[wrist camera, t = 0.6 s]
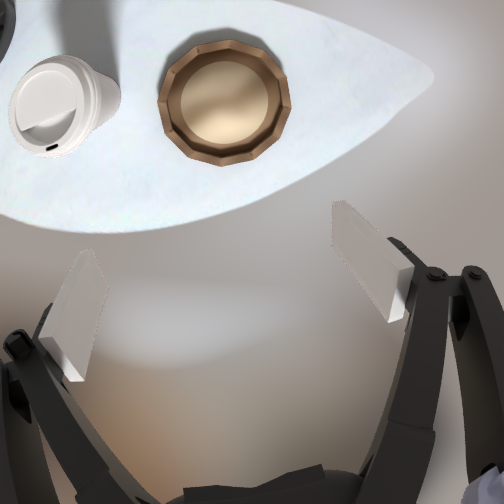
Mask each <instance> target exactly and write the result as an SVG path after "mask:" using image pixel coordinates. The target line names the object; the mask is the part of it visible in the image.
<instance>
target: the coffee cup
mask: <svg viewBox="0 0 504 504" xmlns="http://www.w3.org/2000/svg"><path fill="white" fill-rule="evenodd" d="M120 102H121V92H120V89H119V86H118V85H117V83H116V82H115V81H114V80H113V79H111V78H109V77H107V76H105V75H103V74H101V73H98V72H96V71H94V70H93V69H92V68H91V67H90V66H89V65H88V64H87V63H86V62H85V61H83V60H81V59H80V58H77V57H74V56H70V55H58V56H53V57H50V58H48V59H45V60H43V61H41V62H39V63H38V64H36V65H35V66H34V67H32V68H31V69H30V70H29V71H28V72H27V73H26V74H25V75H24V77H23V78H22V79H21V80H20V81H19V83H18V84H17V86H16V88H15V90H14V92H13V94H12V97H11V101H10V105H9V123H10V128H11V131H12V133H13V135H14V137H15V139H16V140H17V142H18V143H19V144H20V145H21V146H22V147H24V148H25V149H26V150H28V151H29V152H31V153H33V154H35V155H38V156H41V157H49V158H54V157H61V156H64V155H67V154H69V153H71V152H73V151H74V150H76V149H77V148H78V147H80V146H81V145H82V144H83V143H84V142H85V141H86V140H87V138H88V137H89V136H90V134H91V133H92V131H93V130H95V129H96V128H98V127H99V126H101V125H102V124H103V123H105V122H106V121H108V120H109V119H111V118H112V117H113V116H114V115H115V113H116V112H117V110H118V108H119V105H120Z"/></svg>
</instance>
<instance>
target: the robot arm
mask: <svg viewBox="0 0 504 504" xmlns="http://www.w3.org/2000/svg"><path fill="white" fill-rule="evenodd" d="M14 27H15V10H14V7H13V4H12V3H11V1H10V0H0V63H1V61H2V59H3V58H4V56H5V54H6V52H7V50H8V47H9V45H10V42H11V40H12V36H13V32H14ZM332 247H333V248H334V250H335V251H336V252H337V253H338V255H339V256H340V258H341V259H342V260H343V262H344V263H345V264H346V266H347V267H348V268H349V270H350V271H351V272H352V274H353V275H354V276H355V278H356V279H357V280H358V282H359V283H360V284H361V286H362V287H363V288H364V290H365V291H366V293H367V294H368V295H369V297H370V298H371V299H372V301H373V302H374V304H375V305H376V306H377V308H378V309H379V311H380V312H381V314H382V315H383V317H384V318H385V320H386V321H387V322H388V323H389V322H392V321H395V320H398V319H401V318H403V314H404V310H405V308H406V309H407V310H408V312H409V313H410V315H409V318H408V322H407V325H406V328H405V336H404V341H403V345H402V349H401V353H400V357H399V361H398V364H397V368H396V372H395V376H394V379H393V383H392V386H391V389H390V393H389V396H388V399H387V402H386V405H385V408H384V411H383V414H382V417H381V420H380V423H379V425H378V428H377V431H376V433H375V436H374V439H373V441H372V444H371V447H370V449H369V451H368V454H367V456H366V458H365V460H364V462H363V464H362V466H361V468H360V470H359V473H358V475H356V474H354V473H350V472H346V471H340V470H323V468H322V465H321V464H319V465H316V466H312V467H308V468H305V469H301V470H297V471H293V472H289V473H286V474H284V475H282V476H280V477H278V478H275V479H273V480H271V481H269V482H267V483H264V484H262V485H260V486H257V487H254V488H244V487H230V486H220V485H213V486H203V487H190V488H183V491H184V495H182V496H179V497H177V498H175V499H173V500H171V501H169V502H167V503H166V504H416V501H417V498H418V495H419V493H420V490H421V487H422V483H423V480H424V477H425V474H426V471H427V468H428V464H429V461H430V457H431V453H432V450H433V446H434V441H435V431H433V423H434V418H435V413H436V408H437V403H438V398H439V392H440V386H441V380H442V373H443V366H444V358H445V349H446V339H447V326H448V324H449V328H450V333H451V337H452V342H453V347H454V352H455V358H456V363H457V369H458V375H459V382H460V389H461V397H462V406H463V416H464V428H465V444H466V466H467V475H468V481H469V486H468V487H467V488H466V490H465V492H464V495H463V499H462V500H461V504H504V311H503V308H502V306H501V303H500V301H499V299H498V297H497V294H496V292H495V290H494V288H493V285H492V283H491V281H490V279H489V277H488V275H487V273H486V272H485V271H484V270H482V269H481V268H479V267H477V266H466V267H464V269H463V270H462V274H461V276H448V274H447V273H446V272H445V271H443V270H442V269H440V268H437V267H427V266H426V265H425V264H424V263H423V262H422V261H421V260H420V259H419V258H418V257H417V256H416V255H415V254H414V253H412V251H410V250H409V249H408V248H407V247H406V246H405V245H404V244H403V243H402V242H401V241H399V240H397V239H395V238H393V237H389V238H386V237H385V236H384V235H383V234H381V233H380V232H379V231H378V230H377V229H376V228H375V227H374V226H373V225H372V224H371V223H370V222H369V221H367V220H366V219H365V218H364V217H363V216H362V215H361V214H360V213H359V212H357V211H356V210H355V209H354V208H353V207H352V206H351V205H349V204H348V203H347V202H346V201H345V200H343V201H336V202H332ZM108 291H109V287H108V285H107V283H106V281H105V278H104V276H103V273H102V271H101V269H100V266H99V264H98V262H97V259H96V257H95V255H94V252H93V249H92V248H91V249H87V250H82V251H80V253H79V254H78V256H77V258H76V260H75V262H74V263H73V265H72V267H71V269H70V271H69V273H68V275H67V277H66V279H65V281H64V283H63V285H62V287H61V289H60V290H59V293H58V295H57V297H56V299H55V301H54V303H51V304H50V305H49V306H48V307H47V308H46V309H45V311H44V313H43V315H42V317H41V319H40V321H39V323H38V324H39V325H38V326H37V328H36V330H35V332H34V335H33V337H32V339H30V337H29V336H28V334H27V333H26V332H25V331H24V330H22V329H18V330H15V331H14V332H12V333H11V334H10V335H8V337H7V338H6V339H5V341H4V344H3V349H4V350H5V351H6V353H7V354H8V355H9V356H10V358H11V359H12V360H13V361H11V362H8V363H6V364H4V363H3V362H2V360H1V359H0V504H60V503H59V500H58V497H57V494H56V492H55V489H54V485H53V483H52V479H51V476H50V472H49V469H48V466H47V462H46V458H45V454H44V451H43V446H42V442H41V437H40V432H39V428H38V423H39V425H40V428H41V430H42V432H43V433H44V435H45V438H46V440H47V441H48V443H49V445H50V447H51V449H52V451H53V452H54V454H55V456H56V458H57V460H58V461H59V463H60V465H61V467H62V468H63V470H64V472H65V473H66V475H67V477H68V478H69V480H70V481H71V483H72V485H73V486H74V488H75V489H76V491H77V494H76V496H75V499H76V501H77V503H78V504H161V503H160V502H158V501H157V500H156V499H155V498H153V497H152V496H151V495H150V494H149V493H148V492H147V491H146V490H145V489H144V488H143V487H142V486H141V485H140V484H139V483H138V482H137V481H136V479H135V478H134V477H133V476H132V475H131V474H130V473H129V472H128V470H127V469H126V468H125V467H124V466H123V465H122V463H121V462H120V461H119V460H118V459H117V457H116V456H115V455H114V454H113V452H112V451H111V450H110V449H109V447H108V446H107V445H106V444H105V442H104V441H103V440H102V438H101V437H100V435H99V434H98V433H97V431H96V430H95V429H94V427H93V426H92V424H91V423H90V422H89V420H88V419H87V417H86V416H85V414H84V413H83V411H82V410H81V408H80V407H79V405H78V404H77V402H76V401H75V399H74V397H73V396H72V394H71V393H70V391H69V389H68V388H67V386H66V384H65V383H64V382H63V381H62V378H63V374H65V375H66V377H67V378H68V379H69V380H70V381H71V382H72V381H84V380H85V376H86V371H87V367H88V363H89V359H90V355H91V351H92V347H93V343H94V339H95V335H96V331H97V328H98V324H99V321H100V317H101V314H102V310H103V307H104V303H105V300H106V297H107V294H108ZM37 421H38V422H37Z"/></svg>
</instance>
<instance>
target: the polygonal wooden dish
mask: <svg viewBox="0 0 504 504" xmlns="http://www.w3.org/2000/svg"><path fill="white" fill-rule="evenodd" d="M157 103H158V108H159V112H160V116H161V120H162V125H163V129H164V133H165V135H166V136H167V137H168V138H169V139H170V140H171V141H172V142H173V143H174V144H175V145H176V146H177V147H178V148H179V149H180V150H181V151H182V152H183V153H184V154H185V155H186V156H187V157H189V158H191V159H195V160H199V161H202V162H206V163H209V164H213V165H216V166H220V167H222V166H227V165H231V164H236V163H241V162H245V161H250V160H254V159H255V158H257V157H258V156H259V155H260V154H261V153H263V152H264V151H265V150H266V149H268V148H269V147H270V146H271V145H272V144H274V143H275V142H276V141H277V140H279V138H280V136H281V134H282V131H283V129H284V126H285V124H286V121H287V119H288V116H289V114H290V111H291V108H292V107H291V101H290V95H289V89H288V82H287V77H286V75H285V74H284V73H283V71H282V70H281V69H280V68H279V67H278V66H277V64H276V63H275V62H274V61H273V60H272V59H271V57H270V56H269V55H268V54H267V53H266V52H265V51H264V50H261V49H258V48H256V47H253V46H250V45H247V44H244V43H241V42H238V41H235V40H232V39H230V40H224V41H218V42H213V43H208V44H203V45H198V46H195V47H194V48H192V49H191V50H190V51H189V52H188V53H186V54H185V55H184V56H183V57H182V58H180V59H179V60H178V61H177V62H176V63H175V64H173V65H172V66H171V67H170V68H169V70H168V71H167V74H166V77H165V80H164V82H163V85H162V88H161V91H160V94H159V97H158V102H157Z"/></svg>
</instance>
